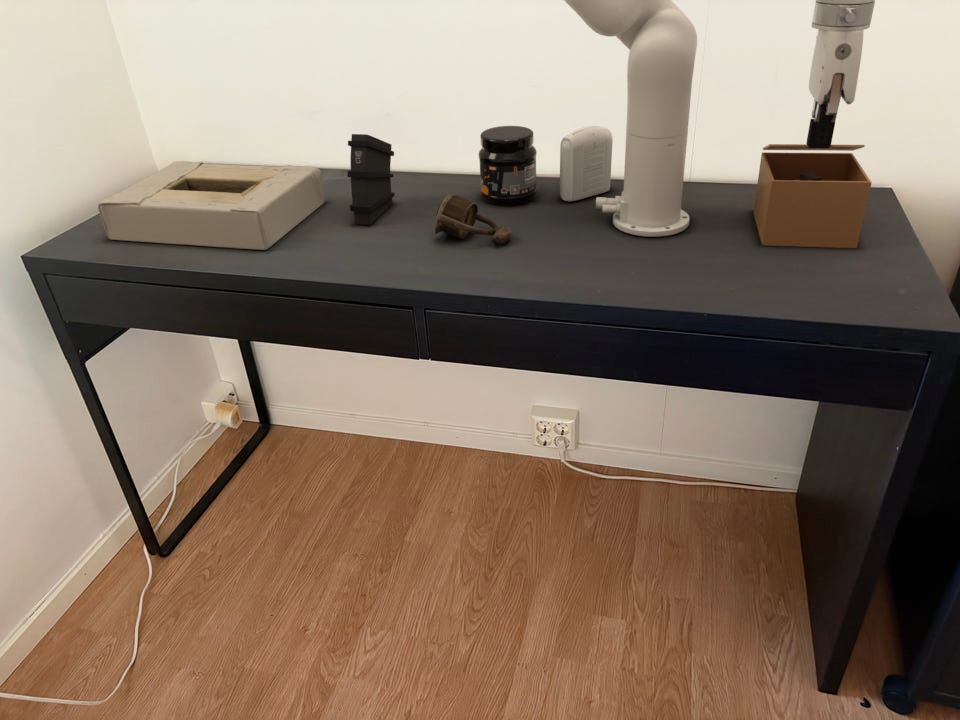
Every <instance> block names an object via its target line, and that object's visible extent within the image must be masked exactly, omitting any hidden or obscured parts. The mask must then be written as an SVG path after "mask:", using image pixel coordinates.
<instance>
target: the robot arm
mask: <svg viewBox="0 0 960 720" xmlns="http://www.w3.org/2000/svg"><path fill="white" fill-rule="evenodd" d="M563 1H564V2H565V3H566V4H567V5H568V6H569V7H570V8H571V10H573V11H574V12H575V13H576V15H578V16H579V17H580V19H582V21H583V22H584V23H585V24H586V25H587V26H588V28H589V29H591V30H592V31H594V33H596V34H598V35H599V36H603V37H604V36H605V37H616V39H618V40H619V41H620V42H621V43H622V44H623V45H624V46H625V47H626V48H627V49H628V50H629V53H628V58H627V65H626V66H627V68H626V72H627V73H626V78H627V79H626V84H627V87H626V88H627V91H626V93H627V96H626V97H627V98H626V99H627V100H626V101H627V103H626V123H625V125H626V126H625V152H624V155H625V156H624V171H623V173H624V174H623V190H622V191H621V195H615V197H601V196H597V197H596V199H595V209H598V210H599V209H600V210H601V213H602V214H610V213H612V225H613V226H614V227H615V228H616V229H618V230H619V231H620V232H623V233H626V234H629V235H632V236H638V237H646V238H660V237H668V236H672V235H677V234H680V233H681V232H683V231H685V230H686V229H687V228H688V227H689V225H690V215H689V214H688V212H686V211H685V210H683V209H682V199H683V189H684V180H685V179H684V178H685V169H686V168H685V167H686V159H687V158H686V157H687V146H688V134H689V121H690V109H691V98H692V87H693V79H694V77H693V76H694V70H695V63H696V62H695V61H696V54H697V48H698V35H697V31H696V28H695V25H694V23H693V22H692V21H691V19H690V18H689V17H688V16H687V15H686V14H685V13H684V12H683V10H681V9H680V8H679V7H678V6H677V5H676V3H674V1H673V0H563ZM875 3H876V0H815V3H814V7H813V8H814V9H813V15H812V20H811V28H812V29H815V30H817V35H816V37H815V38H816V39H815V45H814V50H813V54H812V60H811V66H810V72H809V80H808V91H809V93H810V94H811V96H812V98H813V103H812V111H811V118H810V120H809V126H808V132H807V138H806V142H805V143H806V144H805V145H807V146H808V148H818V149H828V148H830V147H831V145H832V143H833V137H834V131H835V126H836V120H837V115H838V112H839V107H840V102H841V99H842V100H843V101H844V102H845V104H846V105H852V104H853V103H854V102H855V98H856V92H857V86H858V80H859V75H860V74H859V73H860V67H861V60H862V54H863V44H864V30H867V29H870V27H871V23H872V17H873V12H874V8H875Z"/></svg>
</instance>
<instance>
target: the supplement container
mask: <svg viewBox="0 0 960 720" xmlns="http://www.w3.org/2000/svg"><path fill="white" fill-rule="evenodd" d="M479 136H480V138H479V139H480V140H479V141H480V146H481V148H480V149H479V151H478V160H479V175H480V176H479V177H480V195H481V198H483V200H484V201H485V202H487V203H490V204H492V205H497V206H516V205H521V204H525V203H527V202H529V201H531V200H532V199H534V198H535V197H536V195H537V193H538V186H537V155H538V154H537V153H538V151H537V149H536V147H535V146H534V143H535V141H534V138H535V137H534V136H535V135H534V131H533V130H532V129H531V128H529V127H525V126H520V125H500V126H495V127H490V128H487V129H484V130H483V131H482V132H481V133H480V134H479Z"/></svg>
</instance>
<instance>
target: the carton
mask: <svg viewBox="0 0 960 720" xmlns="http://www.w3.org/2000/svg"><path fill="white" fill-rule="evenodd" d="M808 172H813V173H815V174H816V175H818V176H820V177H821V181H801V180H798V179H800V174H801V173H808ZM872 183H873V182H872V181H871V179H870V178H869V176H868V175H867V173H866V172H865V170H864V169H863V167H862V166H861V164H860V163H859V161H858V160H857V158H856V157H855V155H854V154H853V152H761V157H760V162H759V170H758V177H757V184H756V190H755V191H756V192H755V198H754V204H753V210H752V213H753V216H754V220H755V224H756V228H757V232H758V235H759V240H760V243H761V246H766V247H767V246H769V247H771V246H773V247H803V248H804V247H805V248H806V247H807V248H808V247H809V248H834V249H835V248H836V249H857V248H858V246H859V240H860V236H861V232H862V227H863V224H864V223H863V222H864V218H865V214H866V211H867V210H866V209H867V205H868V202H869V201H868V200H869V197H870V192H871V186H872Z"/></svg>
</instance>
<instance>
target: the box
mask: <svg viewBox="0 0 960 720" xmlns="http://www.w3.org/2000/svg"><path fill="white" fill-rule="evenodd" d="M325 200H326V194H325V185H324V180H323V175H322V171H321V169H320V168H319V167H317V166H311V165H310V166H309V165H303V166H302V165H300V166H299V165H298V166H295V165H290V164H287V165H284V166H271V165H270V166H269V165H248V164H246V165H245V164H224V163H204V162H203V161H188V160H177V161H173V162H171V163H170V164H168V165H167V166H165V167H163V168H161V169H160V170H158V171H156V172H154V173H153V174H151V175H149V176H147V177H145V178H143V179H142V180H140V181H137V182H136V183H134V184H132V185H131V186H128V187H127V188H125V189H122V190H121V191H119V192H117V193H116V194H114V195H111V196H110V197H107V198H104V199H103V200H101V201H99V203H98V206H97V209H98V213H99V216H100V219H101V222H102V225H103V227H104V231H105V233H106V235H107V238H108V239H109V240H111V241H112V240H113V241H124V242H125V241H126V242H138V243H139V242H142V243H157V244H169V245H184V246H185V245H187V246H199V247H212V248H213V247H214V248H225V249H226V248H227V249H244V250H256V251H257V250H258V251H267V250H268V249H269V248H271V247H272V246H273V245H274V244H276V243H277V242H278V241H280V240H281V239H282V238H283V237H285V236H286V235H287V234H288V233H289V232H290V231H292V230H293V229H294V228H295V227H297V226H298V225H299V224H300V223H301V222H303V221H304V220H305V219H306V218H307V217H309V216H311V214H312V213H314V212H315V211H317V210H318V209H319V208H320V207H321V206H322V205H324V204H325Z"/></svg>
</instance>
